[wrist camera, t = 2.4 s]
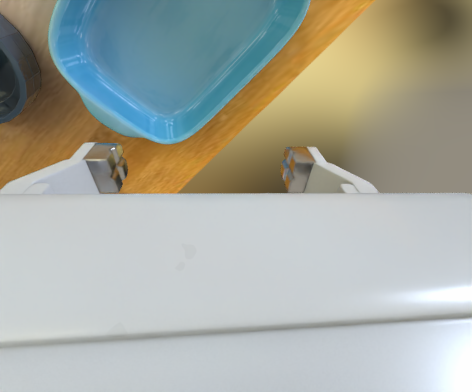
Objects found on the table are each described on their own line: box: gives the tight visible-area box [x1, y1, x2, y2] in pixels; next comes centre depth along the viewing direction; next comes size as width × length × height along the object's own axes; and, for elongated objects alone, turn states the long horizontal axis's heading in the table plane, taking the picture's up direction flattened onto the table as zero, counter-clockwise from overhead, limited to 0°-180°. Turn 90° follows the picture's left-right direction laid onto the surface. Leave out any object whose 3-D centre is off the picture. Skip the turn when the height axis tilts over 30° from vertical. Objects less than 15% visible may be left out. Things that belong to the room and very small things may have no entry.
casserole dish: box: [48, 0, 311, 144], centre depth 31 cm, size 37×22×7 cm, turn 131°
